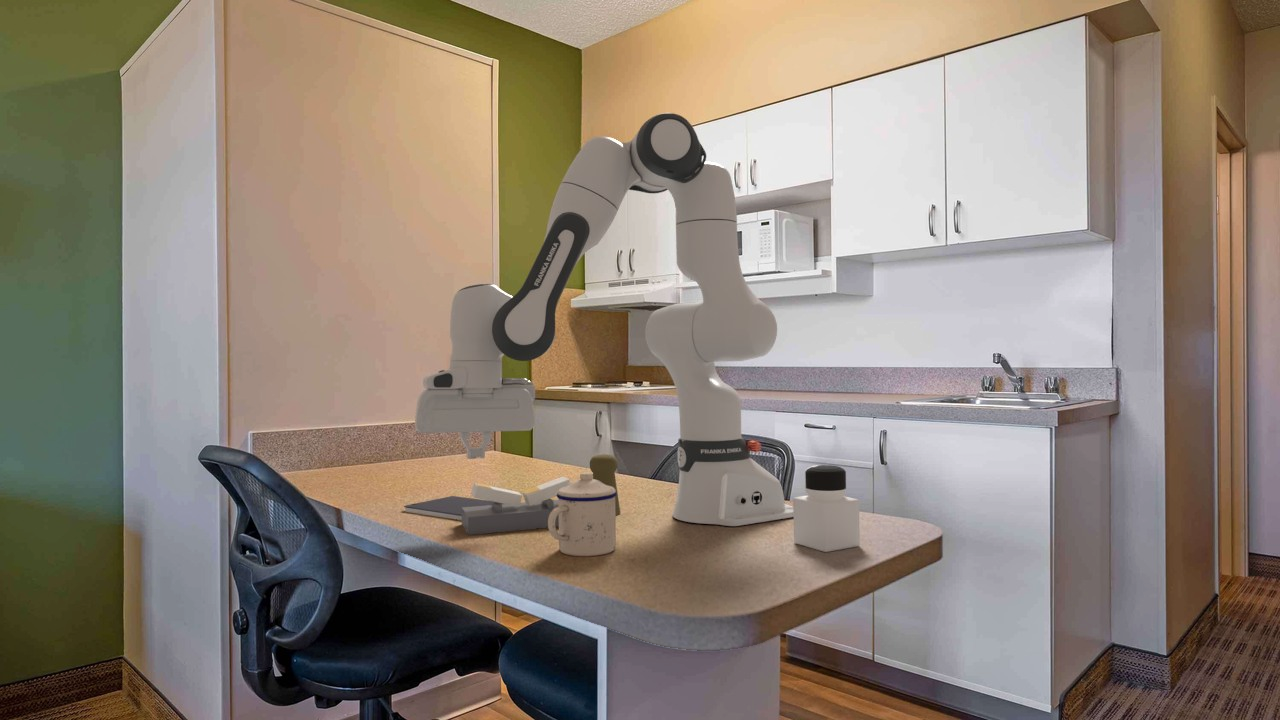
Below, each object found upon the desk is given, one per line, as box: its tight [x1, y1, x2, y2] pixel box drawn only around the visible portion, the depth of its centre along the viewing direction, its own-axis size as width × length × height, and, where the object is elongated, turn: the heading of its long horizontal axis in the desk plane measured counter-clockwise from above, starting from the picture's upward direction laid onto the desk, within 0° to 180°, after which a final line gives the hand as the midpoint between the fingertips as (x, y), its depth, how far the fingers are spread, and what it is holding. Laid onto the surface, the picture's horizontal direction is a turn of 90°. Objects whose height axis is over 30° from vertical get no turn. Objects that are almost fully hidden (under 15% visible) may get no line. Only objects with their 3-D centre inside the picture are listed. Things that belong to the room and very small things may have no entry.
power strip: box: [461, 498, 559, 536], centre depth 138 cm, size 26×9×4 cm, turn 110°
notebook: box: [403, 495, 503, 521], centre depth 150 cm, size 13×2×21 cm
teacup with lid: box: [547, 472, 617, 557], centre depth 117 cm, size 12×9×12 cm
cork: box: [589, 453, 621, 516], centre depth 145 cm, size 6×6×11 cm
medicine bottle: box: [792, 464, 861, 553], centre depth 118 cm, size 7×7×12 cm
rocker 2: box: [521, 476, 572, 506], centre depth 138 cm, size 8×4×2 cm, turn 110°
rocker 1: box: [470, 482, 523, 507], centre depth 135 cm, size 8×4×2 cm, turn 110°
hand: (475, 458), depth 134 cm, fingers closed
